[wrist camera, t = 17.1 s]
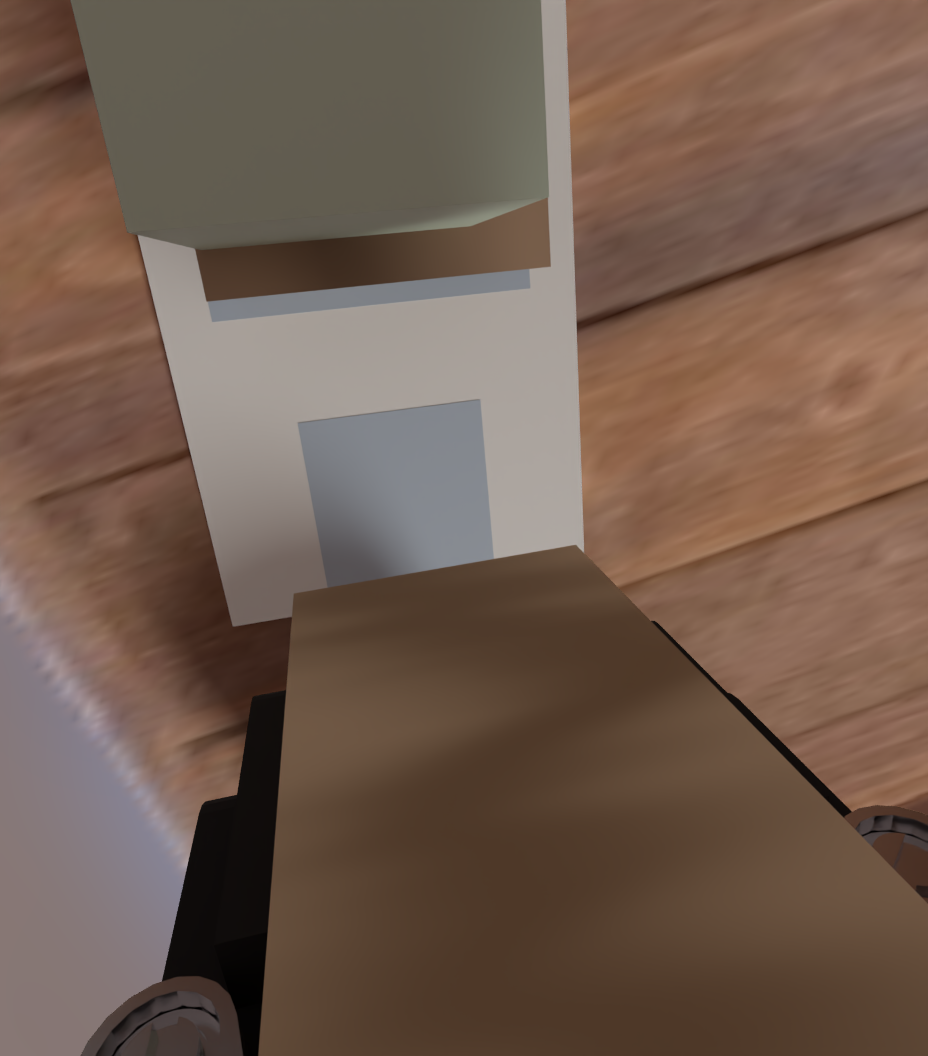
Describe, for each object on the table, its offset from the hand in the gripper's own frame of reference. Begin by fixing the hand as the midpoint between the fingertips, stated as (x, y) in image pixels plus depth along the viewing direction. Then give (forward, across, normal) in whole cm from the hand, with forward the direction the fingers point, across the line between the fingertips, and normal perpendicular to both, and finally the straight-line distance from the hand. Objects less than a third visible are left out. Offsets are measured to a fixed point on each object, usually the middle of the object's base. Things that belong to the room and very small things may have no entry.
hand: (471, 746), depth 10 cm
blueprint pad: (+13, 0, -6) cm, 14 cm away
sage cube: (+9, 0, -10) cm, 14 cm away
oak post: (+1, 0, 0) cm, 1 cm away
